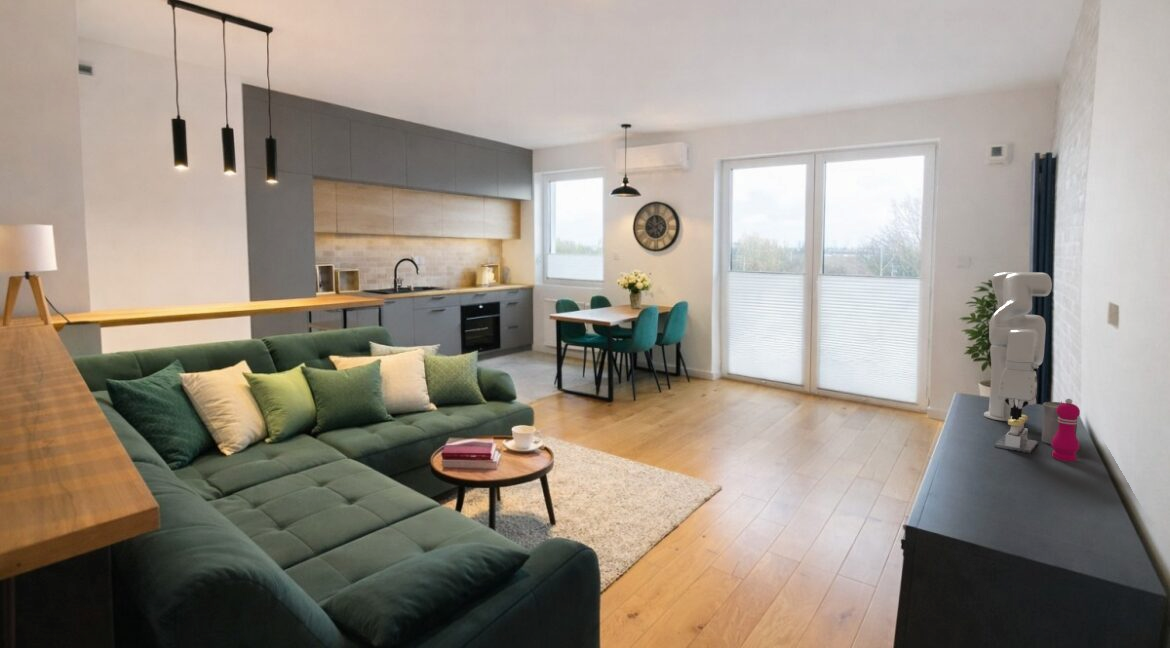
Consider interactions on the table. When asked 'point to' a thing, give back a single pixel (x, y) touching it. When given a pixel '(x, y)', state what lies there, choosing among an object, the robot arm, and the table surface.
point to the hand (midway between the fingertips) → (1015, 418)
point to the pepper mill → (1066, 432)
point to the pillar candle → (1050, 421)
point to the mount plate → (1016, 442)
